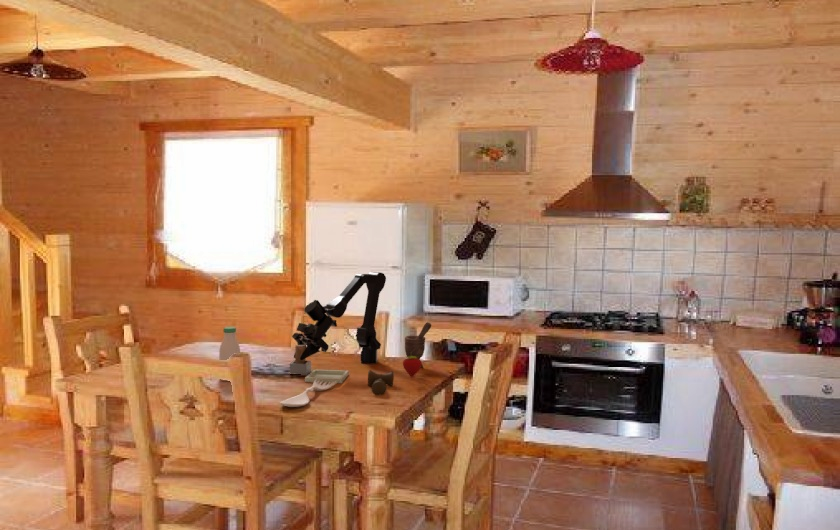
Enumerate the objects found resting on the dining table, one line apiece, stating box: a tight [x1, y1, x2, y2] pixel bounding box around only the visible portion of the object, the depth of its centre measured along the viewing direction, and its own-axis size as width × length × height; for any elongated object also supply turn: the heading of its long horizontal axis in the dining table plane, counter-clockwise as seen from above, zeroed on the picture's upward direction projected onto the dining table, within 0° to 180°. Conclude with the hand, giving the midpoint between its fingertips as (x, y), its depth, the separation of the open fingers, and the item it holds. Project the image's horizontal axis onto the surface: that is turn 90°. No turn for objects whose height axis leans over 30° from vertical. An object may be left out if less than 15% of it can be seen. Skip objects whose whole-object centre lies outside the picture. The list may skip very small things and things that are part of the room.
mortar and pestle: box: [404, 321, 432, 369], centre depth 273 cm, size 12×9×20 cm
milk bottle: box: [218, 326, 241, 382], centre depth 249 cm, size 8×8×20 cm
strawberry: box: [402, 352, 423, 378], centre depth 258 cm, size 6×8×10 cm
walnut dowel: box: [294, 344, 307, 364], centre depth 259 cm, size 4×4×11 cm
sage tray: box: [304, 369, 350, 385], centre depth 251 cm, size 14×14×2 cm
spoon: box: [279, 379, 338, 408], centre depth 226 cm, size 9×32×4 cm, turn 165°
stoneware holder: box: [289, 359, 312, 376], centre depth 259 cm, size 7×7×5 cm
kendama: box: [367, 370, 395, 396], centre depth 241 cm, size 6×10×20 cm
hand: (297, 358), depth 258 cm, fingers closed on walnut dowel, 4 cm apart
